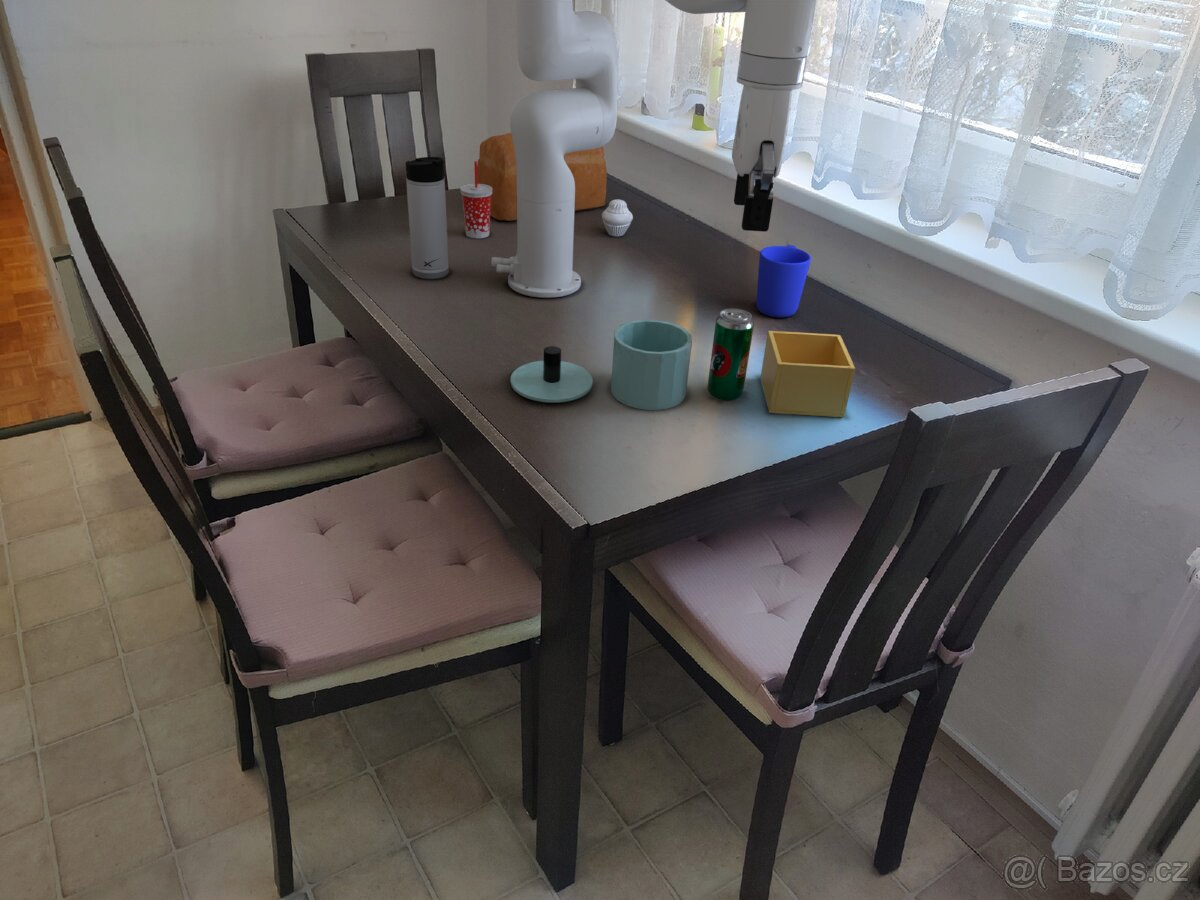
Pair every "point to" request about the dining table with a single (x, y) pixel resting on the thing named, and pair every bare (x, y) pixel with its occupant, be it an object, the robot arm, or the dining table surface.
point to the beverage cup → (476, 208)
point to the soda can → (730, 354)
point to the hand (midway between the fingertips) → (750, 217)
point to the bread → (502, 176)
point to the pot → (650, 364)
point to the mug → (781, 280)
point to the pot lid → (551, 379)
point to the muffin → (617, 218)
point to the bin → (806, 374)
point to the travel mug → (427, 217)
